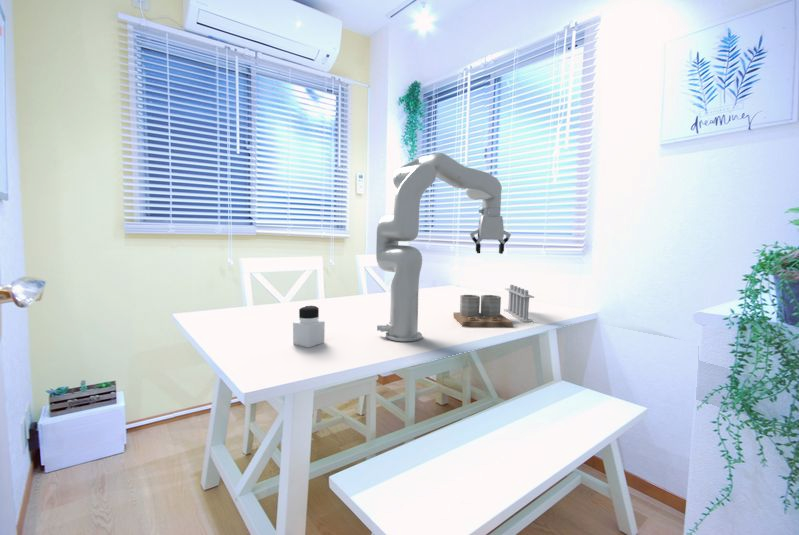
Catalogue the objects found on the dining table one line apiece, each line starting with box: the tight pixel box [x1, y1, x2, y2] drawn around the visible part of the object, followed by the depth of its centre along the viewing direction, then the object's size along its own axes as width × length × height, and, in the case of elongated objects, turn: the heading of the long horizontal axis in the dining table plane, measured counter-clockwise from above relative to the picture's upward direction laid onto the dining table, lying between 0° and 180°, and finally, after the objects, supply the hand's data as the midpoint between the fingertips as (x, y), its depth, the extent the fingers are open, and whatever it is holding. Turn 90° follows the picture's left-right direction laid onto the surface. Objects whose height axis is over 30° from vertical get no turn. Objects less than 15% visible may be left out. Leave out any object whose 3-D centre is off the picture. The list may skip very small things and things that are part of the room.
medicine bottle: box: [292, 305, 326, 348], centre depth 120 cm, size 7×7×12 cm
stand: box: [452, 294, 514, 328], centre depth 156 cm, size 20×18×10 cm
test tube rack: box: [503, 284, 535, 324], centre depth 168 cm, size 25×4×13 cm, turn 3°
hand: (489, 253), depth 160 cm, fingers open, 9 cm apart
